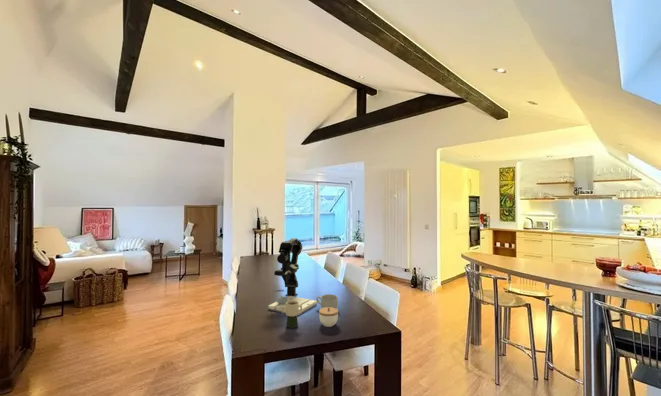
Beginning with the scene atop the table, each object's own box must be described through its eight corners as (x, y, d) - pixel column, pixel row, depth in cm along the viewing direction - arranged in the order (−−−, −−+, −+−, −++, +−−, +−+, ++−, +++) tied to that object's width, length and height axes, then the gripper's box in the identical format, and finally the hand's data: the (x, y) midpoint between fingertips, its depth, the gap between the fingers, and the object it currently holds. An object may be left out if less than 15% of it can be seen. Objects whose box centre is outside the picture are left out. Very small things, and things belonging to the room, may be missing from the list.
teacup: (340, 308, 187) (340, 295, 187) (332, 314, 177) (332, 300, 178) (321, 304, 194) (321, 292, 194) (313, 310, 184) (313, 297, 184)
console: (289, 299, 204) (289, 295, 204) (316, 304, 194) (316, 300, 194) (268, 309, 185) (268, 305, 185) (297, 315, 174) (297, 311, 174)
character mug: (300, 323, 164) (300, 299, 164) (303, 328, 157) (303, 303, 157) (281, 325, 161) (281, 301, 161) (282, 330, 154) (282, 305, 154)
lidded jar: (314, 325, 162) (314, 307, 162) (327, 319, 170) (327, 302, 170) (329, 330, 155) (329, 312, 155) (342, 324, 163) (342, 307, 163)
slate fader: (281, 303, 192) (281, 296, 192) (287, 304, 190) (287, 297, 190) (277, 305, 189) (277, 298, 189) (283, 306, 186) (283, 299, 186)
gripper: (287, 264, 189) (287, 288, 189) (303, 259, 205) (303, 281, 205) (273, 262, 194) (273, 286, 194) (290, 257, 211) (290, 279, 210)
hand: (286, 283), depth 201 cm, fingers closed
